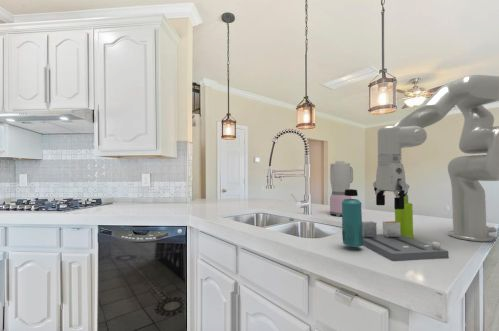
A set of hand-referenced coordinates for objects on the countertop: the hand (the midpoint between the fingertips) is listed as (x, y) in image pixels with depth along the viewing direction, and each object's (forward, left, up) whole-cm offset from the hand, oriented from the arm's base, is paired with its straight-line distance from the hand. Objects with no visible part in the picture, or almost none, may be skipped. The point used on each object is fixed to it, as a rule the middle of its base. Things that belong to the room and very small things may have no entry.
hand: (389, 207), depth 86 cm
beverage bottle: (+17, +4, -13) cm, 22 cm away
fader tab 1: (+8, -1, -10) cm, 13 cm away
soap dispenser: (-11, -7, -13) cm, 18 cm away
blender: (-11, -54, -13) cm, 57 cm away
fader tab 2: (-1, 0, -11) cm, 11 cm away
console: (+2, +6, -13) cm, 14 cm away
